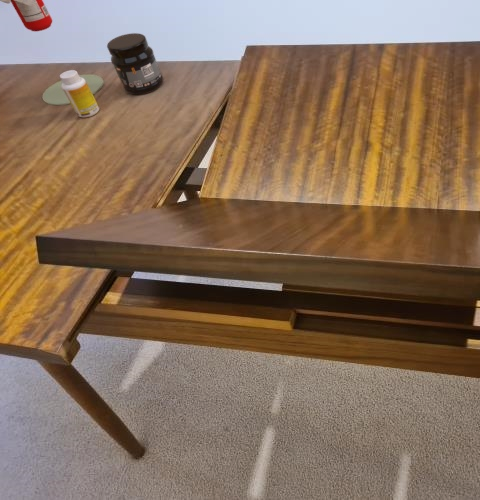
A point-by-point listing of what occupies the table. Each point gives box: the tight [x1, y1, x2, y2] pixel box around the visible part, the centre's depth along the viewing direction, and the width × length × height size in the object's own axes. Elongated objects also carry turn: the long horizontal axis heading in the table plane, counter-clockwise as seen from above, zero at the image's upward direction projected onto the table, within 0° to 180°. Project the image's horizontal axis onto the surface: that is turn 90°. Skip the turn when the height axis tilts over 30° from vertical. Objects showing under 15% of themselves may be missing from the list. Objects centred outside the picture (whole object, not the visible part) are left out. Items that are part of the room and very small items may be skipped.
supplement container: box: [106, 32, 164, 95], centre depth 118 cm, size 10×10×12 cm
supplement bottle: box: [59, 69, 100, 119], centre depth 111 cm, size 6×6×10 cm
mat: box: [41, 73, 105, 106], centre depth 124 cm, size 16×16×1 cm
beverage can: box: [10, 0, 53, 32], centre depth 107 cm, size 6×6×12 cm
